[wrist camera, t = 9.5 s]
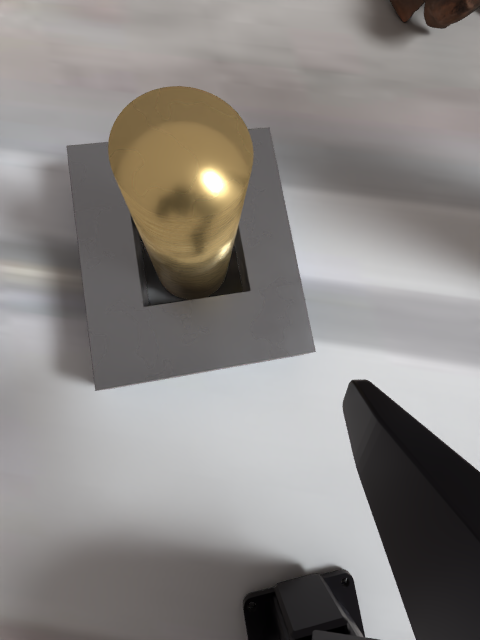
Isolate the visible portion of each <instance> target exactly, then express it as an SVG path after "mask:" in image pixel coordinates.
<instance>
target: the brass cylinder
mask: <svg viewBox="0 0 480 640" xmlns="http://www.w3.org/2000/svg"><path fill="white" fill-rule="evenodd" d="M108 155H109V161H110V166H111V169H112V171H113V174H114V177H115V179H116V181H117V183H118V186H119V188H120V190H121V193H122V195H123V197H124V199H125V202H126V204H127V206H128V209H129V211H130V213H131V216H132V218H133V220H134V222H135V225H136V227H137V229H138V232H139V234H140V236H141V238H142V241H143V243H144V245H145V248H146V250H147V252H148V255H149V257H150V259H151V261H152V264H153V266H154V268H155V271H156V273H157V275H158V277H159V280H160V281H161V283H162V285H163V286H164V287H165V288H166V289H167V290H168V291H169V292H170V293H172V294H173V295H175V296H177V297H179V298H183V299H188V300H194V299H201V298H205V297H208V296H209V295H211V294H213V293H214V292H215V291H217V290H218V289H219V287H220V286H221V285H222V283H223V282H224V280H225V277H226V274H227V270H228V266H229V262H230V258H231V254H232V249H233V245H234V241H235V237H236V233H237V229H238V225H239V220H240V216H241V212H242V208H243V204H244V200H245V195H246V191H247V187H248V183H249V179H250V175H251V171H252V165H253V145H252V140H251V137H250V134H249V131H248V129H247V127H246V125H245V123H244V122H243V120H242V119H241V117H240V116H239V115H238V113H237V112H236V111H235V110H234V109H233V108H232V107H231V106H230V105H228V104H227V103H226V102H225V101H223V100H222V99H220V98H218V97H217V96H215V95H213V94H211V93H208V92H206V91H203V90H200V89H196V88H191V87H182V86H174V87H164V88H160V89H156V90H152V91H150V92H147V93H145V94H143V95H141V96H139V97H138V98H136V99H135V100H133V101H132V102H131V103H129V104H128V105H127V106H126V107H125V108H124V109H123V111H122V112H121V113H120V114H119V116H118V117H117V119H116V121H115V122H114V125H113V127H112V130H111V133H110V137H109V143H108Z"/></svg>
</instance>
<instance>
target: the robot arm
mask: <svg viewBox="0 0 480 640" xmlns="http://www.w3.org/2000/svg"><path fill="white" fill-rule="evenodd" d="M343 413H344V417H345V421H346V426H347V430H348V434H349V439H350V443H351V448H352V452H353V456H354V460H355V464H356V468H357V471H358V474H359V477H360V480H361V483H362V486H363V489H364V492H365V494H366V497H367V500H368V503H369V506H370V509H371V512H372V515H373V517H374V520H375V523H376V526H377V529H378V532H379V535H380V538H381V540H382V543H383V546H384V549H385V552H386V555H387V558H388V561H389V563H390V566H391V569H392V572H393V575H394V578H395V581H396V584H397V586H398V589H399V592H400V595H401V598H402V601H403V604H404V607H405V609H406V612H407V615H408V618H409V621H410V624H411V627H412V630H413V632H414V635H415V638H416V640H480V472H479V471H478V470H477V469H475V468H474V467H473V466H472V465H471V464H469V463H468V462H467V461H466V460H465V459H463V458H462V457H461V456H460V455H459V454H457V453H456V452H455V451H454V450H452V449H451V448H450V447H449V446H448V445H446V444H445V443H444V442H443V441H442V440H440V439H439V438H438V437H437V436H435V435H434V434H433V433H432V432H431V431H429V430H428V429H427V428H426V427H425V426H423V425H422V424H421V423H420V422H418V421H417V420H416V419H415V418H414V417H412V416H411V415H410V414H409V413H408V412H406V411H405V410H404V409H403V408H401V407H400V406H399V405H398V404H397V403H395V402H394V401H393V400H392V399H391V398H389V397H388V396H387V395H386V394H384V393H383V392H382V391H381V390H380V389H378V388H377V387H376V386H375V385H374V384H372V383H371V382H370V381H368V380H352V381H351V382H350V383H349V385H348V388H347V391H346V394H345V397H344V400H343ZM343 578H347V581H346V582H345V583H341V581H342V579H343ZM251 602H254V603H255V604H256V605H255V606H254V607H253V608H249V607H248V605H249V604H250V603H251ZM243 610H244V616H245V623H246V629H247V635H248V640H378V639H372V638H365V634H364V629H363V624H362V619H361V614H360V610H359V605H358V600H357V595H356V590H355V585H354V580H353V578H352V576H351V575H350V573H349V572H348V571H346V570H344V569H343V570H337V571H334V572H330V573H326V574H322V575H319V574H317V573H316V574H312V575H308V576H304V577H300V578H296V579H293V580H289V581H285V582H281V583H278V584H277V585H276V586H275V587H273V588H269V589H265V590H261V591H257V592H253V593H250V594H248V595H246V596H245V597H244V600H243Z"/></svg>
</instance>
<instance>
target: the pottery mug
mask: <svg viewBox="0 0 480 640" xmlns="http://www.w3.org/2000/svg"><path fill="white" fill-rule="evenodd" d="M390 2H391V3H392V6H393V7H394V9H395V10H396V12H397V14H398V15H399V17H400V18H401V20H402V21H403V22H407V21H408V20H409V19H410V18H411V16H412V15H413V13H414V12H415V11H417V10H418V9H419V8H420V7H421V6H422V4H423V3H425V7H424V18H425V21H426V24H427V25H428V26H430V27H433V28H440V29H441V28H446V27H448V26H449V25H450V24H453V23H455V22H458V21H460V20H462V19H463V18H465V17H467V16H468V15H470V14H471V13H472V12H474V11H475V10H476V9H477V8H478V7H479V6H480V0H390Z"/></svg>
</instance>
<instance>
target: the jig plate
mask: <svg viewBox="0 0 480 640" xmlns="http://www.w3.org/2000/svg"><path fill="white" fill-rule="evenodd" d="M248 131H249V134H250V137H251V140H252V145H253V165H252V171H251V175H250V179H249V183H248V187H247V191H246V195H245V200H244V204H243V208H242V212H241V216H240V220H239V225H238V229H237V233H236V237H235V241H234V246H235V252H236V257H237V263H238V268H239V274H240V279H241V285H242V290H243V292H241V293H234V294H227V295H221V296H214V297H207V298H201V299H194V300H187V301H181V302H174V303H167V304H161V305H154V306H150V304H149V297H148V290H147V283H146V276H145V269H144V263H143V256H142V249H141V242H140V235H139V232H138V229H137V227H136V225H135V222H134V220H133V218H132V216H131V213H130V211H129V209H128V206H127V204H126V202H125V199H124V197H123V195H122V193H121V190H120V188H119V186H118V183H117V181H116V179H115V177H114V174H113V171H112V169H111V166H110V161H109V155H108V143H109V142H104V143H93V144H82V145H71V146H67V154H68V163H69V171H70V180H71V188H72V196H73V205H74V213H75V222H76V230H77V239H78V247H79V256H80V264H81V273H82V281H83V290H84V298H85V307H86V315H87V323H88V332H89V340H90V349H91V357H92V366H93V374H94V383H95V391H97V390H105V389H112V388H118V387H123V386H129V385H135V384H140V383H146V382H152V381H157V380H163V379H169V378H174V377H180V376H185V375H191V374H197V373H202V372H208V371H214V370H219V369H225V368H231V367H236V366H242V365H248V364H253V363H259V362H264V361H270V360H276V359H281V358H287V357H293V356H298V355H303V354H308V353H312V352H316V351H315V346H314V341H313V337H312V332H311V327H310V322H309V317H308V312H307V308H306V303H305V298H304V293H303V288H302V283H301V279H300V274H299V269H298V264H297V259H296V254H295V249H294V245H293V240H292V235H291V230H290V225H289V220H288V216H287V211H286V206H285V201H284V196H283V191H282V187H281V182H280V177H279V172H278V167H277V162H276V158H275V153H274V148H273V143H272V138H271V133H270V128H258V129H248Z"/></svg>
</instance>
